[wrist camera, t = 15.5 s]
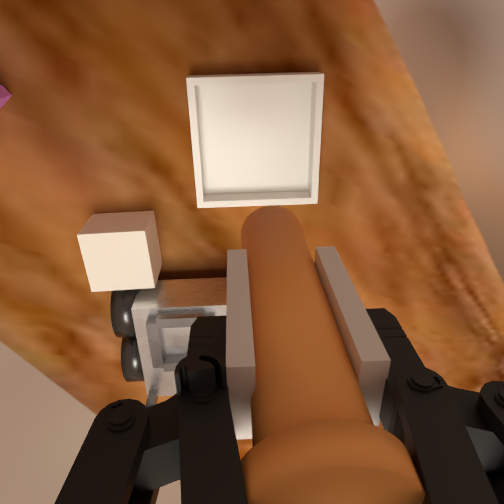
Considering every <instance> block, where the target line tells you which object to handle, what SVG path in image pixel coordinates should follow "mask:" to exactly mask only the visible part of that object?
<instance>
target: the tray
mask: <svg viewBox="0 0 504 504" xmlns="http://www.w3.org/2000/svg"><path fill="white" fill-rule="evenodd" d="M186 82H187V94H188V105H189V116H190V128H191V139H192V150H193V162H194V173H195V185H196V196H197V207H198V208H212V207H239V206H266V205H293V204H317V201H318V182H319V163H320V145H321V126H322V107H323V89H324V74H323V73H320V72H291V73H255V74H218V75H189V76H188V77H186Z"/></svg>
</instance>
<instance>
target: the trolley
mask: <svg viewBox="0 0 504 504" xmlns="http://www.w3.org/2000/svg"><path fill="white" fill-rule="evenodd" d="M226 310H227V277H222V278H199V279H175V280H157V283H156V286H155V288H147V289H131V290H114V291H112V294H111V321H112V327H113V330H114V333H115V335H116V336H117V337H119V338H120V337H123V339H122V346H121V366H122V372H123V376H124V379H125V380H126V381H127V382H133V381H145V385H146V391H147V396H148V398H147V403H146V407H149V406H152V405H156V404H157V399H158V396H171V395H175V394H176V393H177V391H176V384H175V376H174V372H175V368H176V365H177V364H178V363H179V362H180V361H181V360H182V359H183V358H185V357H187V350H188V342H189V335H190V328H191V325H192V324H193V323H194V321H195V320H196V319H197V317H198V316H223V315H226Z"/></svg>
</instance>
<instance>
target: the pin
mask: <svg viewBox="0 0 504 504" xmlns="http://www.w3.org/2000/svg"><path fill="white" fill-rule="evenodd" d="M241 241H242V249H246V251H247V264H248V277H249V290H250V303H251V316H252V329H253V342H254V355H255V375H256V388H255V389H254V392H253V394H252V397H251V423H252V441H253V448H251V449H250V450H249V451H248V452H247V453H246V454H245V456H244V457H243V458H242V459H241V461H240V462H241V467H242V473H243V478H244V484H245V489H246V495H247V500H248V504H423V501H424V497H425V494H426V493H425V490H424V488H423V485H422V483H421V480H420V478H419V475H418V473H417V470H416V468H415V466H414V463H413V461H412V458H411V456H410V454H409V452H408V450H407V448H406V447H405V446H404V444H403V443H402V442H401V441H400V440H399V439H398V438H397V437H396V436H394V435H393V434H391V433H390V432H388V431H386V430H384V429H382V428H380V427H378V426H375V425H374V423H373V421H372V418H371V415H370V413H369V410H368V407H367V404H366V402H365V399H364V396H363V394H362V391H361V388H360V386H359V383H358V380H357V378H356V375H355V372H354V370H353V367H352V364H351V361H350V359H349V356H348V353H347V351H346V348H345V345H344V342H343V340H342V337H341V334H340V332H339V329H338V326H337V323H336V321H335V318H334V315H333V313H332V310H331V307H330V304H329V302H328V299H327V296H326V294H325V291H324V288H323V286H322V283H321V280H320V277H319V275H318V272H317V269H316V267H315V264H314V261H313V258H312V256H311V253H310V250H309V247H308V245H307V242H306V239H305V237H304V234H303V231H302V228H301V226H300V223H299V221H298V219H297V218H296V216H295V215H294V214H293V213H292V212H290V211H289V210H287V209H285V208H283V207H279V206H266V207H262V208H259V209H257V210H256V211H254V212H253V213H251V214H250V215H249V216H248V217H247V219H246V220H245V222H244V224H243V226H242V231H241Z"/></svg>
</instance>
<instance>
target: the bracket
mask: <svg viewBox="0 0 504 504" xmlns="http://www.w3.org/2000/svg"><path fill="white" fill-rule="evenodd" d="M11 96H12V95H11V94H10V93H9V92H8V91H7V90H6V89H5V88H4V87H3V86H2V85H1V84H0V108H1V107H2V106H3V105H4V104H5V103H6V102H7V100H8V99H9V98H10V97H11Z"/></svg>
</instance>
